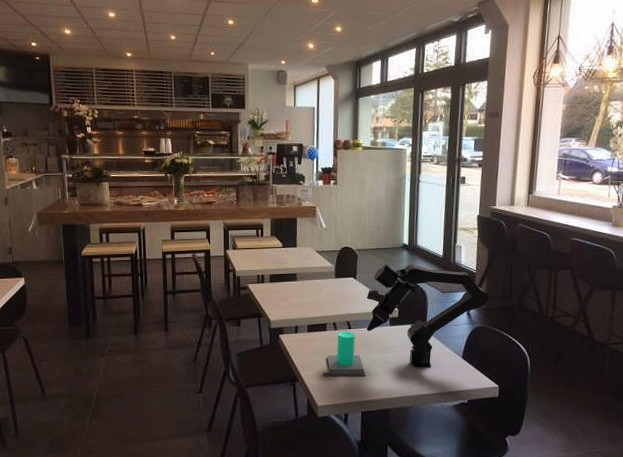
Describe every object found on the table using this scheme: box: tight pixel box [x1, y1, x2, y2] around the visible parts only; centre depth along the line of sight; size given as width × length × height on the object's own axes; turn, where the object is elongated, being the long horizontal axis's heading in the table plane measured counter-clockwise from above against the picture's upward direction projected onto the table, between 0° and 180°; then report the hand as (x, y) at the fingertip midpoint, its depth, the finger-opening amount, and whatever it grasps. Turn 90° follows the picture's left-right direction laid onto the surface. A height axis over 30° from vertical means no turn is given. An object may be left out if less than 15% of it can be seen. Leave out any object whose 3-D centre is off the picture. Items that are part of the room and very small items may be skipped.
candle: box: [337, 330, 356, 365], centre depth 198 cm, size 6×6×12 cm
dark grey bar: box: [322, 371, 366, 377], centre depth 190 cm, size 15×1×1 cm, turn 93°
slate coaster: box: [326, 354, 365, 372], centre depth 199 cm, size 12×12×1 cm
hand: (369, 328), depth 199 cm, fingers open, 9 cm apart
